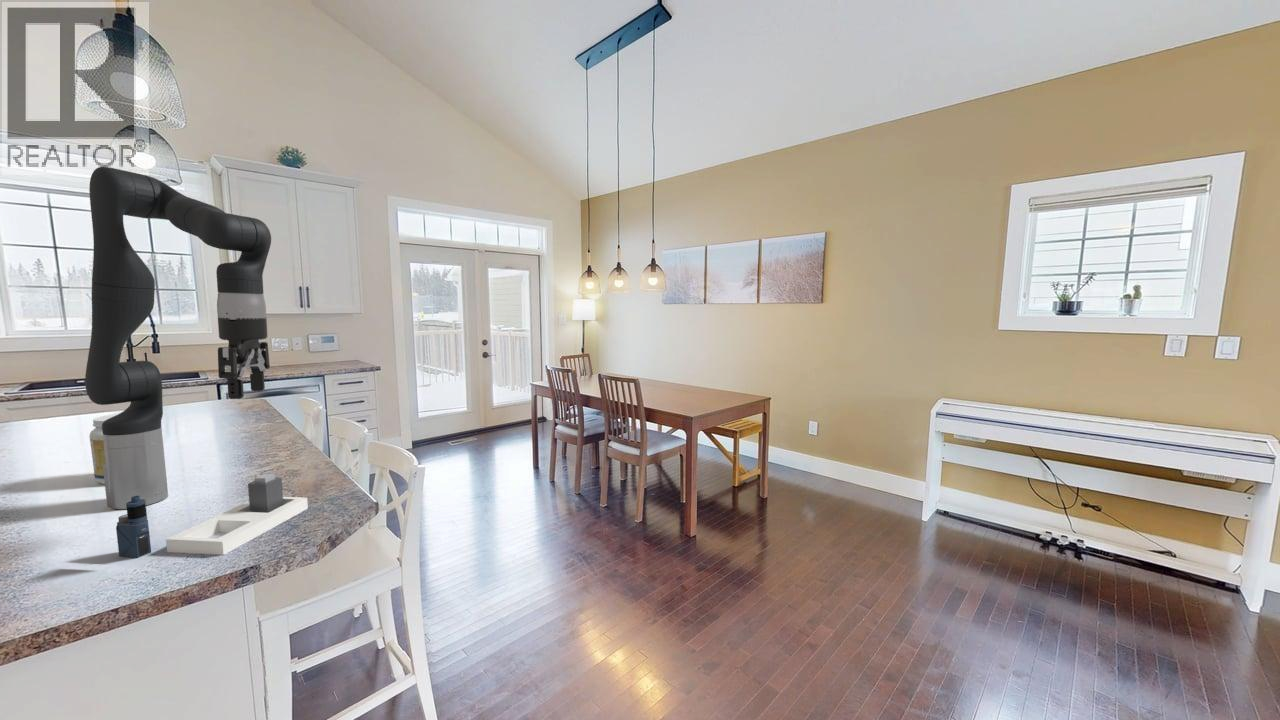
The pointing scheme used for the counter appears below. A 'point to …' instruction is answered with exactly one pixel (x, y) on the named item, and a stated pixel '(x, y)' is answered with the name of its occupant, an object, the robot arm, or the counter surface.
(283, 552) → the counter surface
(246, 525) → the dock
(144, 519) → the vaping device
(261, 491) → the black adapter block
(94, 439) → the supplement tub
